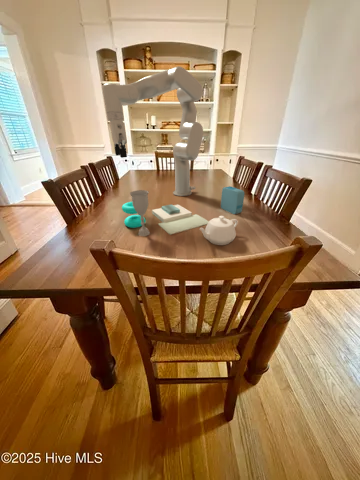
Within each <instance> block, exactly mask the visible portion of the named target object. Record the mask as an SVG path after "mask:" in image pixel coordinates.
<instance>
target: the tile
mask: <svg viewBox="0 0 360 480" xmlns="http://www.w3.org/2000/svg"><path fill="white" fill-rule="evenodd" d="M160 208H162V210H164V211H165V212H166V213H168V214H169V215H170V214H174V213H179V212H180V209H178V208H177V207H175V206H173V204H172V203H171V204H166V205H162V206H161V207H160Z"/></svg>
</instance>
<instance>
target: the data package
mask: <svg viewBox="0 0 360 480" xmlns="http://www.w3.org/2000/svg"><path fill="white" fill-rule="evenodd" d="M220 199H221V200H220V209H222V210H224V211H225V212H228V213H230V214H233V215H237V214H241V213H242V212H243V207H244V199H245V191H244V190H242V189H239V188H237V187H233V186H230V185H229V186H226V187H225V186H224V187H223V188H222V190H221V197H220Z"/></svg>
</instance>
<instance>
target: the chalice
mask: <svg viewBox="0 0 360 480" xmlns="http://www.w3.org/2000/svg"><path fill="white" fill-rule="evenodd" d="M149 193H150V192H149V191H148V190H146V189H139V190H133V191H131V192H129V195H130V197H131V200H132V201H131V202H132V203H133V207H134V209H135V210H136V212H137V215H141V219H140V220H141V221H142V222H141V224H142V226H141V227H139V230H138V234H137V235H138V236H140V237H147V236H149V235H150V234H151V232H150V230H149V228H147V227H146V226H145V225H146V223H144V218H145V217H144V216H145V214H146V213H147V210H148V207H149V196H148V195H149Z"/></svg>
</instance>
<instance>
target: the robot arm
mask: <svg viewBox="0 0 360 480" xmlns="http://www.w3.org/2000/svg"><path fill="white" fill-rule="evenodd" d="M203 89H204V88H203V85H202V84H201V82H200V81H199V80H198V79H197V78H195V76H193V75H192V74H191V73H190V71H188V70H187V69H185V68H183V67H182V66H179V65H178V66H176V67H175V66H174V67H172V68H170V69H166V70H162V71H159V72H157V73H153V74H151V75H148V76H145V77H143V78H141V79H139V80H137V81H134V82H132V83H128V84H117V83H103V85H102V95H103V100H104V101H103V102H104V106H105V113H106V119H107V121H109V125H110V131H111V138H112V142H113V147H114V152H115V156H119V157H120V158H123V159H124V158H127V157H128V153H127V146H126V144H127V143H128V140H127V139H128V138H127V135H126V129H125V124H124V121H125V118H124V111H123V110H124V109H123V107H124V106H125V107H126V106H130V105H135V104H136V103H137V102H139V101H142V100H147V99H152V98H156V97H158V96H161V95H163V94H167V93H169V92H172V91H174V90H176V98H177V100H178V102H179V104H180V106H181V110H182V111H181V112H182V114H181V119H180V123H179V124H180V125H179V131H178V136H179V138H180V140H183V141H180V142H177V143H175V145H174V146H173V149H172V153H173V160H174V176H175V177H174V181H175V182H174V184H175V185H174V186H175V188H174V189H175V190H174V191H172V194H173V195H174V196H176V197H177V196H178V197H186V196H190V195H192V190H196V188H197V187H196V186H192V185H191V184H190V183H191V182H190V180H191V179H190V177H191V175H190V172H191V166H190V165H191V164H190V161H195V160H196V159H198V156H199V154H200V149H201V146H202V145H201V144H202V142H203V138H204V128H203V126H202V123H200V122H198V121H197V115H198V111H197V107H196V105H195V102H199V101H200V100H201V99H202V97H203V94H204V93H203V92H204V90H203ZM186 141H187V142H186Z"/></svg>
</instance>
